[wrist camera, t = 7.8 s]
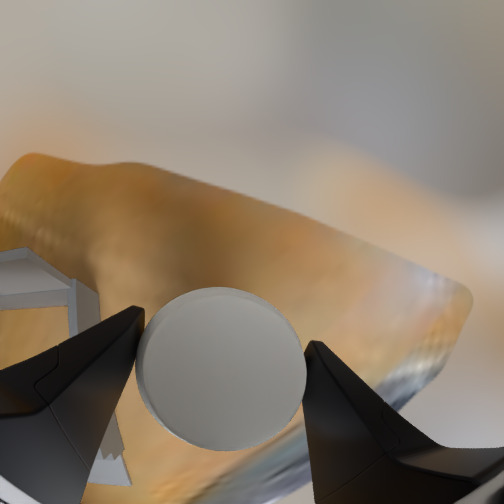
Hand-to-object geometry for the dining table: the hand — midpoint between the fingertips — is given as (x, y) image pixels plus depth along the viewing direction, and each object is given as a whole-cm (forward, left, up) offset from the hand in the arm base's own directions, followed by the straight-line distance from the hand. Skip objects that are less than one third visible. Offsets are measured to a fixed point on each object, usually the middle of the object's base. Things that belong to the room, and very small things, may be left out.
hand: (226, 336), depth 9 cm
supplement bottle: (-1, 0, -8) cm, 8 cm away
